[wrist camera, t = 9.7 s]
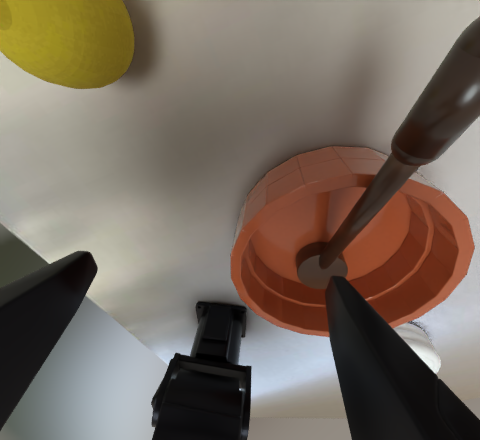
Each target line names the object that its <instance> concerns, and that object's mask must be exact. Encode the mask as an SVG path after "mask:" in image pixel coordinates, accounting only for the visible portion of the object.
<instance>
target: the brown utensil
mask: <svg viewBox="0 0 480 440" xmlns="http://www.w3.org/2000/svg"><path fill="white" fill-rule="evenodd" d="M479 116H480V17H478V18H477V19H476V20H475V21H473V22H472V23H471V24H470V25H469V26H468V27H467V28H466V29H465V30H464V31H463V32H462V34H461V35H460V36H459V38H458V39H457V41H456V42H455V44H454V45H453V47H452V48H451V50H450V51H449V53H448V54H447V56H446V57H445V59H444V60H443V62H442V63H441V65H440V66H439V68H438V69H437V71H436V72H435V74H434V76H433V77H432V79H431V80H430V82H429V83H428V85H427V86H426V88H425V89H424V91H423V92H422V94H421V95H420V97H419V98H418V100H417V101H416V103H415V104H414V106H413V107H412V109H411V110H410V112H409V113H408V115H407V117H406V118H405V120H404V121H403V123H402V124H401V126H400V127H399V129H398V130H397V132H396V133H395V135H394V137H393V139H392V143H391V150H392V153H391V154H390V156H389V157H388V159H387V160H386V161H385V163H384V164H383V166H382V167H381V169H380V170H379V171H378V173H377V174H376V176H375V177H374V179H373V180H372V181H371V183H370V184H369V186H368V187H367V188H366V190H365V191H364V193H363V194H362V196H361V197H360V198H359V200H358V201H357V203H356V204H355V206H354V207H353V208H352V210H351V211H350V213H349V214H348V216H347V217H346V218H345V220H344V221H343V223H342V224H341V225H340V227H339V228H338V230H337V231H336V233H335V234H334V235H333V237H332V238H331V240H330V241H329V243H327V242H315V243H311V244H308V245H306V246H304V247H303V248H302V249H301V250H300V251H299V252H298V253H297V255H296V260H295V261H296V269H297V276H298V278H299V280H300V281H301V282H302V283H303V284H304V285H306V286H308V287H310V288H314V289H326V288H327V285H328V282H329V279H330V277H331V276H333V275H334V276H343V277H345V278H346V276H347V273H348V267H347V264H346V262H345V259H344V257H343V254H342V252H343V251H344V250H345V249H346V247H347V246H348V245H349V244H350V243H351V242H352V241H353V240H354V239H355V238H356V236H357V235H358V234H359V233H360V232H361V231H362V230H363V229H364V228H365V226H366V225H367V224H368V223H369V222H370V221H371V220H372V219H373V218H374V217H375V215H376V214H377V213H378V212H379V211H380V210H381V209H382V208H383V207H384V205H385V204H386V203H387V202H388V201H389V200H390V199H391V198H392V197H393V196H394V194H395V193H396V192H397V191H398V190H399V189H400V188H401V187H402V186H403V184H404V183H405V182H406V181H407V180H408V179H409V178H410V177H411V176H412V175H413V173H414V172H415V171H416V170H417V169H418V168H419V167H420V166H421V165H425V164H428V163H431V162H433V161H434V160H436V159H438V158H439V157H440V156H441V155H442V154H443V153H444V152H445V151H446V150H447V149H448V148H449V147H450V146H451V145H452V144H453V143H454V142H455V141H456V140H457V139H458V138H459V137H460V136H461V134H462V133H463V132H464V131H465V130H466V129H467V128H468V127H469V126H470V125H471V124H472V123H473V122H474V121H475V120H476V119H477V118H478V117H479Z"/></svg>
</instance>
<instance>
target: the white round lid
mask: <svg viewBox="0 0 480 440" xmlns="http://www.w3.org/2000/svg"><path fill="white" fill-rule="evenodd" d="M393 329H394V330H395V331H396V332H397V333H398V335H399V336H400V337H401V338H402V339H403V340H404V341H405V342H406V343H407V344H408V345H409V346H410V347H411V348H412V349H413V350H414V352H415V353H416V354H417V355H418V356H419V357H420V358H421V359H422V360H423V361H424V362H425V363H426V364H427V365H428V366H429V368H430V369H431V370H432V371H433V372H434V373H435V374H436V373H437V372H438V371H439V369H440V367H441V361H440V357H439V355H438V354H437V353H436V352H435V350H434V347H433V345H432V343H431V342H430V341H429V339H428V336H427V335H426V333H425V332H424V331H423V330H422V329H420V328H419V327H417V326H415V325H413V324H410V323H405V324H402V325H400V326H397V327H395V328H393Z"/></svg>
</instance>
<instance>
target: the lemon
mask: <svg viewBox="0 0 480 440" xmlns="http://www.w3.org/2000/svg"><path fill="white" fill-rule="evenodd" d="M0 51H1V52H2V53H3V54H4V55H5V56H6V57H7V58H8V59H9V60H11V61H12V62H13V63H15V64H16V65H17V66H19V67H20V68H22V69H23V70H24V71H26V72H28V73H30V74H32V75H34V76H36V77H38V78H40V79H42V80H44V81H47V82H50V83H53V84H58V85H62V86H66V87H70V88H76V89H90V88H101V87H104V86H106V85H108V84H111V83H113V82H115V81H117V80H118V79H119V78H120V77H121V76H122V75H123V74H124V73H125V72H126V71H127V69H128V67H129V65H130V63H131V62H132V58H133V54H134V32H133V27H132V22H131V19H130V16H129V14H128V11H127V9H126V6H125V4H124V3H123V1H122V0H0Z"/></svg>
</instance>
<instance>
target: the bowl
mask: <svg viewBox="0 0 480 440" xmlns="http://www.w3.org/2000/svg"><path fill="white" fill-rule="evenodd" d="M388 157H389V156H388V155H385V154H383V153H380V152H378V151H375V150H373V149H370V148H364V147H341V146H330V147H326V148H322V149H318V150H314V151H311V152H307V153H303V154H299V155H296V156H294V157H292V158H291V159H289V160H287V161H286V162H284V163H282V164H281V165H279V166H277V167H276V168H274V169H272V170H270V171H269V172H268V173H266V174H265V176H264V177H263V178H262V179H261V180H260V181H259V182H258V183H257V185H256V186H255V187H254V188H253V189H252V190H251V191H250V192H249V194H248V195H247V198H246V200H245V202H244V205H243V207H242V210H241V212H240V215H239V218H238V222H237V227H236V232H235V236H234V241H233V246H232V250H231V255H230V257H231V279H232V281H233V283H234V286H235V288H236V290H237V292H238V294H239V296H240V298H241V299H242V300H243V301H244V302H245V303H246V304H247V305H248V306H249V307H250V308H251V309H252V310H253V311H254V312H255V313H256V314H257V315H258V316H260V317H262V318H264V319H265V320H267V321H269V322H271V323H272V324H274V325H276V326H278V327H281V328H285V329H288V330H291V331H295V332H298V333H301V334H307V335H316V336H325V337H330V336H329V328H328V319H327V309H326V300H325V291H326V289H314V288H310V287H308V286H306V285H304V284H303V283H302V282H301V281H300V280H299V278H298V276H297V269H296V261H295V260H296V255H297V253H298V252H299V251H300V250H301V249H302V248H303V247H304V246H306V245H308V244H311V243H315V242H327V243H329V241H330V240H331V238H332V237H333V235H334V234H335V233H336V231H337V230H338V228H339V227H340V225H341V224H342V223H343V221H344V220H345V218H346V217H347V216H348V214H349V213H350V211H351V210H352V208H353V207H354V206H355V204H356V203H357V201H358V200H359V198H360V197H361V196H362V194H363V193H364V191H365V190H366V188H367V187H368V186H369V184H370V183H371V181H372V180H373V179H374V177H375V176H376V174H377V173H378V171H379V170H380V169H381V167H382V166H383V164H384V163H385V161H386V160H387V159H388ZM474 249H475V246H474V242H473V238H472V234H471V229H470V225H469V221H468V218H467V216H466V215H465V214H464V213H463V212H462V211H461V210H460V209H459V208H458V207H457V206H456V205H455V204H454V203H453V202H452V201H451V200H450V199H449V198H448V197H447V196H446V195H445V194H444V192H442V191H441V190H440V189H438V188H437V187H435V186H434V185H433V184H431V183H430V182H429V181H427V180H426V179H425V178H423V177H422V176H420V175H419V174H418V173H416V172H414V173H413V175H412V176H411V177H410V178H409V179H408V180H407V181H406V182H405V183H404V184H403V186H402V187H401V188H400V189H399V190H398V191H397V192H396V193H395V194H394V196H393V197H392V198H391V199H390V200H389V201H388V202H387V203H386V204H385V205H384V207H383V208H382V209H381V210H380V211H379V212H378V213H377V214H376V215H375V217H374V218H373V219H372V220H371V221H370V222H369V223H368V224H367V225H366V226H365V228H364V229H363V230H362V231H361V232H360V233H359V234H358V235H357V236H356V238H355V239H354V240H353V241H352V242H351V243H350V244H349V245H348V246H347V247H346V249H345V250H344V251H343V252H342V254H343V257H344V259H345V262H346V264H347V267H348V273H347V276H346V279H347V280H348V281H349V282H350V284H351V285H352V286H353V287H354V288H355V289H356V290H357V291H358V292H359V293H360V294H361V295H362V296H363V297H364V298H365V299H366V301H367V302H368V303H369V304H370V305H371V306H372V307H373V308H374V309H375V310H376V311H377V312H378V313H379V314H380V315H381V316H382V318H383V319H384V320H385V321H386V322H387V323H388V324H389V325H390V326H391V327H392V328H395V327H397V326H400V325H402V324H405V323H407V322H409V321H412V320H414V319H417V318H419V317H421V316H422V315H424V314H425V313H427V312H428V311H430V310H431V309H432V308H434V307H435V306H437V305H438V304H440V303H441V302H443V301H444V300H445V299H446V298H448V296H449V295H450V294H451V293H452V292H453V290H454V289H455V288H456V287H457V286H458V284H459V283H460V282H461V281H462V279H463V278H464V277H465V275H467V271H468V268H469V265H470V262H471V258H472V255H473V252H474Z"/></svg>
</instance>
